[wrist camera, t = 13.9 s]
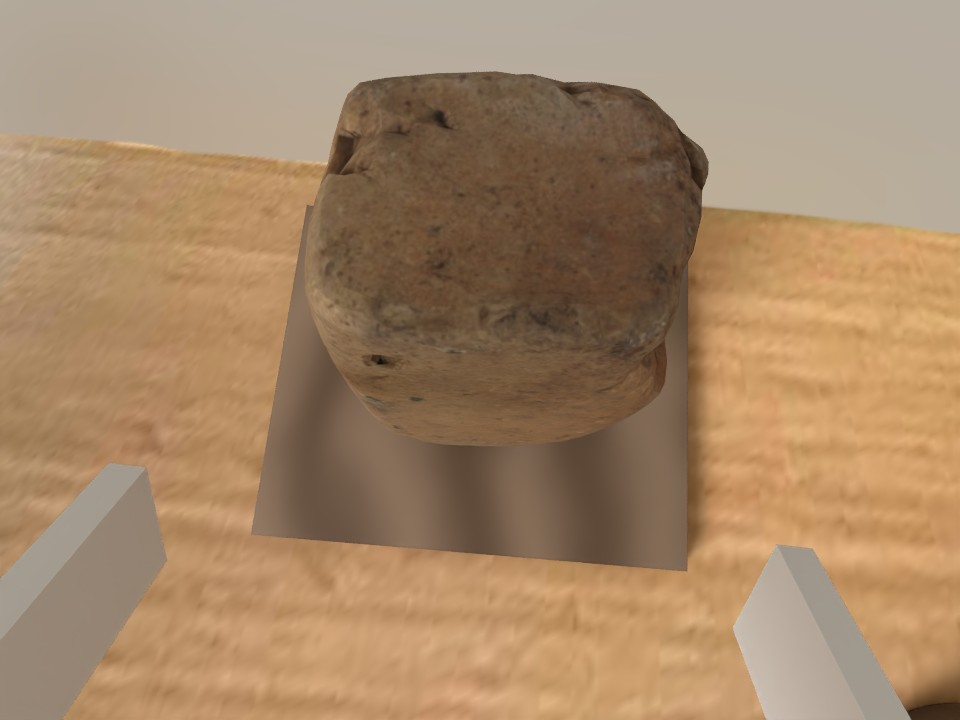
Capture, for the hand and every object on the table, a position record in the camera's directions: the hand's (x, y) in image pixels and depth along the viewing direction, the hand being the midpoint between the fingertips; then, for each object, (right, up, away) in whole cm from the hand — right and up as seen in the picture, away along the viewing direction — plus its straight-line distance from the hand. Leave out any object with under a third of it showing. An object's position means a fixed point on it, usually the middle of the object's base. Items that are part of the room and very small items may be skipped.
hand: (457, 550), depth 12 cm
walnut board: (+1, +3, +20) cm, 20 cm away
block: (+1, +3, +19) cm, 19 cm away
